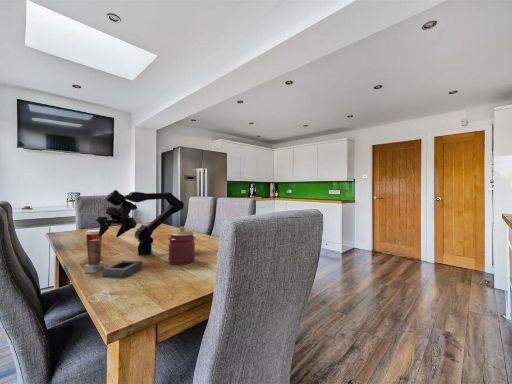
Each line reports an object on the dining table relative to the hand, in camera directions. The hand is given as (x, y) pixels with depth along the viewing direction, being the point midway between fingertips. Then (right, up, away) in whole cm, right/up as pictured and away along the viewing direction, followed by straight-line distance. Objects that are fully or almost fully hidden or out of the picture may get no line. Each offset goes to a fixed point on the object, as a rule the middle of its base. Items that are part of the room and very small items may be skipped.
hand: (108, 236), depth 114 cm
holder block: (+13, -14, -10) cm, 21 cm away
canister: (+33, -14, +7) cm, 37 cm away
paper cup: (-15, -14, +13) cm, 24 cm away
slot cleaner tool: (-1, -14, -8) cm, 16 cm away
